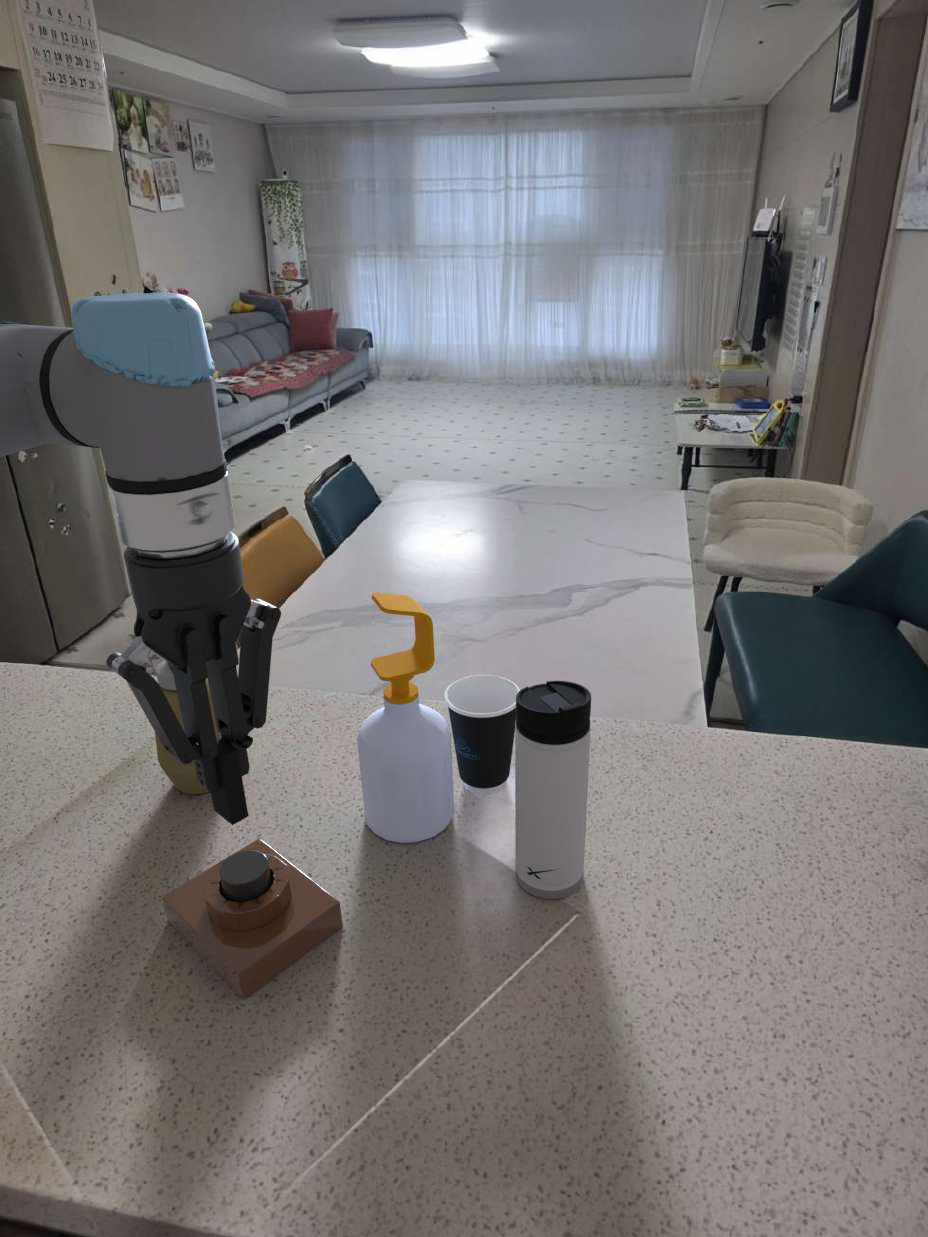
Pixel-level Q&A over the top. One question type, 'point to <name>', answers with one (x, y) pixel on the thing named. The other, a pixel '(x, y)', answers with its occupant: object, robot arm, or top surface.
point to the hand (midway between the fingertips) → (231, 813)
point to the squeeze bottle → (174, 769)
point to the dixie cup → (483, 730)
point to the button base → (253, 922)
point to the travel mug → (551, 787)
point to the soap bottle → (406, 742)
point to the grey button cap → (245, 876)
